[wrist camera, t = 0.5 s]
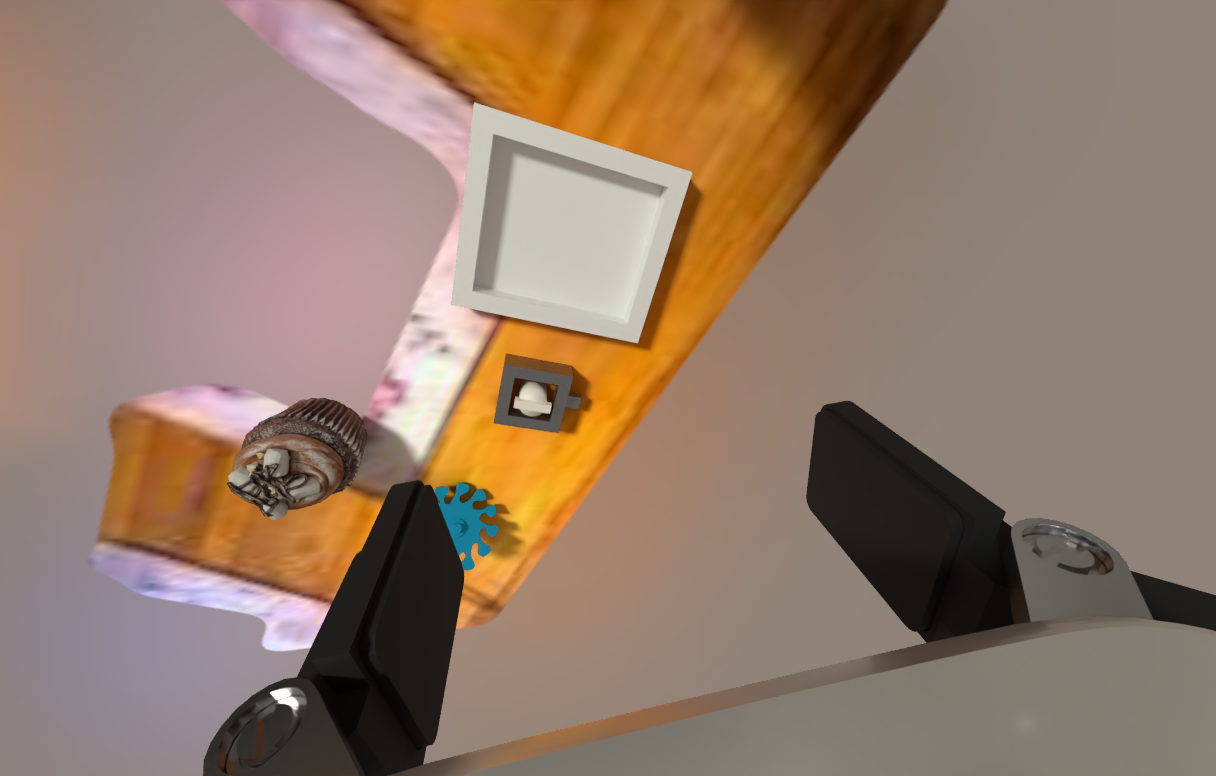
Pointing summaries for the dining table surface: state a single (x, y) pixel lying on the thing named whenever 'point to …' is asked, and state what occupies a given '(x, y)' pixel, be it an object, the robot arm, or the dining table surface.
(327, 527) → the dining table surface
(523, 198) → the tray
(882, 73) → the dining table surface
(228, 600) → the dining table surface
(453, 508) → the blue virus model
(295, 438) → the cupcake
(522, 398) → the white rounded knob
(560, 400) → the grey square frame
